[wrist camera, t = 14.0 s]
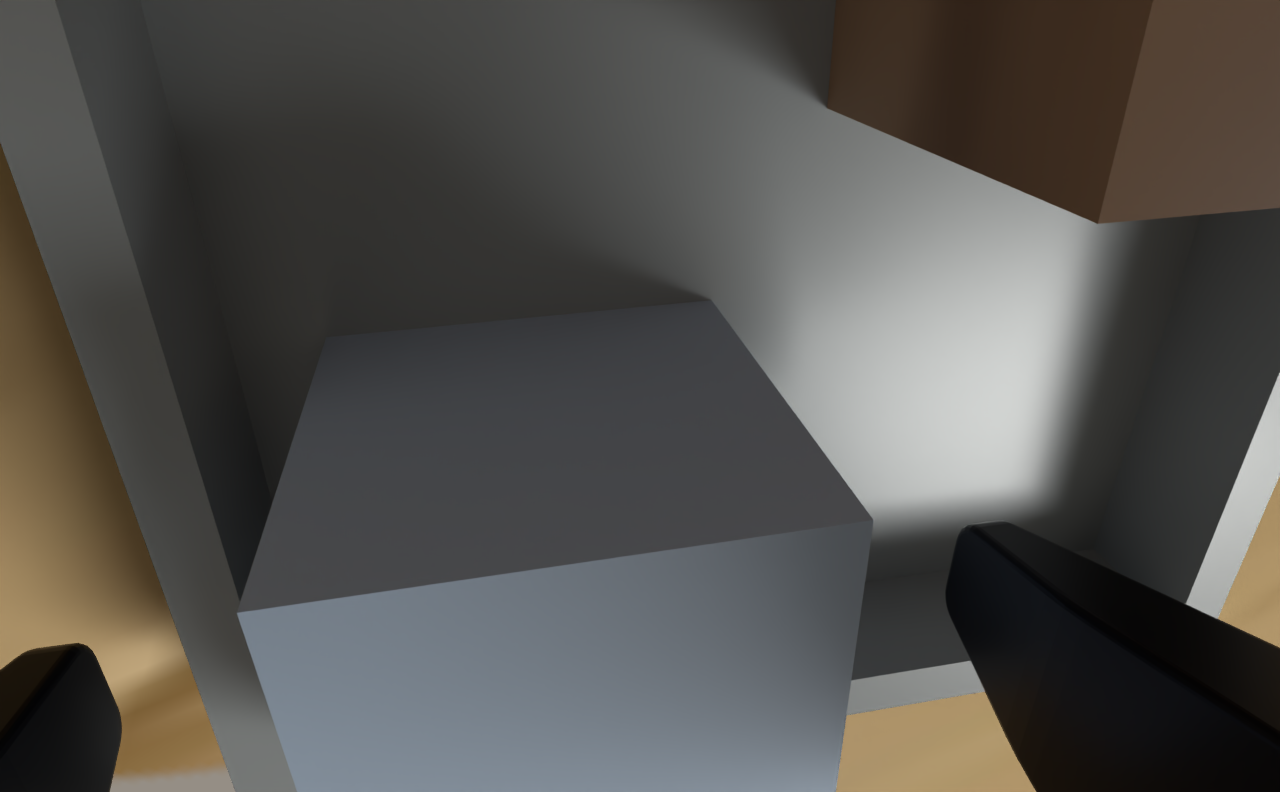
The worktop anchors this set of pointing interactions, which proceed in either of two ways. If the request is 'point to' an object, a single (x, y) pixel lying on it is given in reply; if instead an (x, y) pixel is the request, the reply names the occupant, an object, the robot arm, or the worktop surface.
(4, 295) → the worktop surface
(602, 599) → the slate block
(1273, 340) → the tray
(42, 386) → the worktop surface
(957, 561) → the robot arm
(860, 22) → the walnut block
